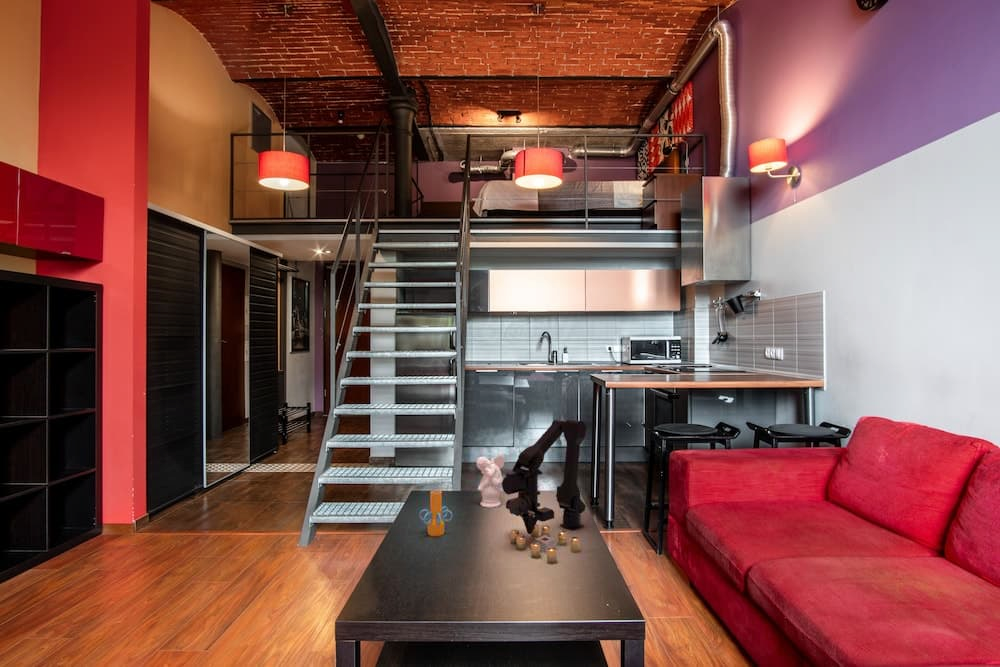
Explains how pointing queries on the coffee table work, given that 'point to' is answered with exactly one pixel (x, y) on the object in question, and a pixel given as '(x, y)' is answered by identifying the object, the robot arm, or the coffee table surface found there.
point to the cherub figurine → (490, 480)
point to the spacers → (535, 546)
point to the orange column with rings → (436, 514)
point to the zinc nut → (546, 542)
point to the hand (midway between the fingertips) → (529, 533)
